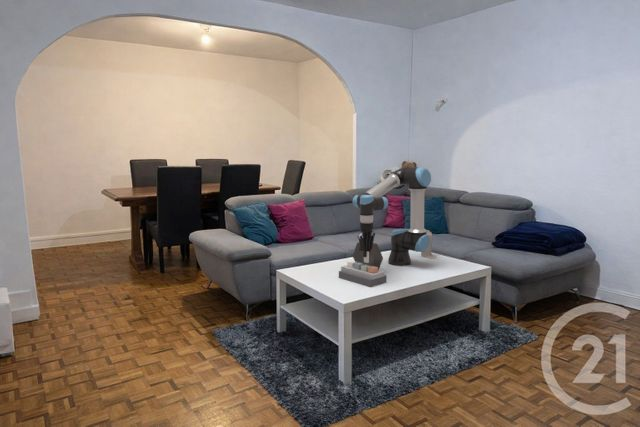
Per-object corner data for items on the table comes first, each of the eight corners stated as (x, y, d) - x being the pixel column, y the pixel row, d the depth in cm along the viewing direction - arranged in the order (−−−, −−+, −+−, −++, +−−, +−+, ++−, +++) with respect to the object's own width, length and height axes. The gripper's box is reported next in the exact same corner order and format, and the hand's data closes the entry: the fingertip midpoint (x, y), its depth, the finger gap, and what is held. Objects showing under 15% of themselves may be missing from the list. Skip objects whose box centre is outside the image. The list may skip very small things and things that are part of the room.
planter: (386, 266, 278) (373, 235, 284) (377, 268, 273) (365, 237, 279) (369, 275, 290) (358, 246, 296) (361, 278, 285) (349, 248, 291)
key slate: (358, 267, 269) (358, 262, 268) (363, 268, 266) (363, 263, 265) (354, 268, 266) (354, 263, 266) (359, 269, 263) (359, 264, 263)
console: (354, 273, 279) (354, 263, 278) (386, 282, 260) (386, 271, 259) (338, 277, 269) (338, 267, 268) (370, 287, 251) (370, 275, 250)
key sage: (365, 269, 265) (365, 264, 264) (370, 270, 262) (370, 265, 261) (360, 270, 262) (361, 265, 262) (366, 272, 259) (366, 267, 259)
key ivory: (352, 265, 273) (352, 260, 272) (356, 266, 270) (356, 261, 269) (347, 266, 270) (347, 261, 270) (352, 268, 267) (352, 263, 267)
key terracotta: (372, 271, 261) (372, 265, 260) (377, 272, 258) (378, 267, 257) (368, 272, 258) (368, 267, 258) (373, 273, 255) (373, 268, 255)
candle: (435, 259, 314) (436, 231, 311) (419, 256, 324) (420, 228, 321) (441, 257, 318) (442, 230, 316) (424, 254, 329) (425, 227, 326)
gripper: (369, 220, 265) (369, 259, 269) (353, 222, 256) (353, 263, 260) (379, 221, 259) (378, 261, 263) (363, 224, 251) (363, 265, 254)
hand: (366, 262), depth 262 cm, fingers closed
